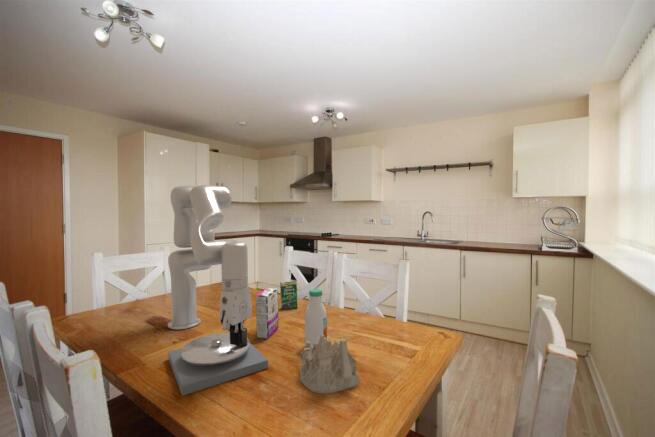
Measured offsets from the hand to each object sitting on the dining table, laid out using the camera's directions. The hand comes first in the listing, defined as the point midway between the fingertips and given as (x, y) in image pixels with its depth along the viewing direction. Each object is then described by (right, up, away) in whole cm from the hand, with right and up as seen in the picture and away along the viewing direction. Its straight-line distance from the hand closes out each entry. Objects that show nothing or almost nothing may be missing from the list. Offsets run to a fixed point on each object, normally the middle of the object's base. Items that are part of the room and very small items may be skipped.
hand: (236, 343), depth 92 cm
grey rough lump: (+28, -8, -4) cm, 29 cm away
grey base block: (-7, -8, +4) cm, 11 cm away
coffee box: (+9, -7, +58) cm, 59 cm away
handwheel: (-7, -4, +4) cm, 9 cm away
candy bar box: (+4, -7, +28) cm, 29 cm away
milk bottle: (+24, -8, +16) cm, 29 cm away
